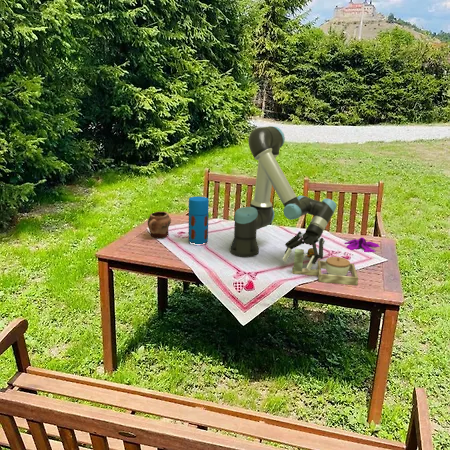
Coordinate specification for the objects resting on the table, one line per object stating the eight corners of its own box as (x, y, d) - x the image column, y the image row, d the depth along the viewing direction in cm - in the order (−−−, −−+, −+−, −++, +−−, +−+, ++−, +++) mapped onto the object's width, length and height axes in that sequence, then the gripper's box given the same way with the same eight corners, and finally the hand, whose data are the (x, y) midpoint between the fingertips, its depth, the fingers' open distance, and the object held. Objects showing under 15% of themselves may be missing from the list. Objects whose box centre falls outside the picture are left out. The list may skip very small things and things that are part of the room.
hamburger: (295, 257, 226) (296, 247, 225) (308, 252, 235) (309, 242, 233) (314, 264, 218) (315, 254, 217) (327, 258, 226) (329, 249, 225)
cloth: (380, 244, 250) (381, 234, 248) (379, 255, 233) (381, 244, 231) (340, 239, 257) (341, 229, 255) (336, 249, 240) (338, 238, 238)
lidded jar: (321, 271, 208) (323, 253, 206) (343, 271, 209) (345, 253, 206) (328, 281, 198) (330, 262, 195) (351, 281, 199) (353, 262, 196)
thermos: (200, 247, 236) (201, 202, 228) (184, 243, 241) (184, 199, 234) (211, 241, 245) (212, 198, 237) (196, 237, 250) (196, 195, 242)
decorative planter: (161, 244, 239) (160, 219, 234) (141, 241, 242) (140, 217, 238) (175, 233, 257) (175, 210, 253) (156, 230, 260) (156, 208, 256)
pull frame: (291, 279, 199) (293, 256, 195) (292, 265, 215) (294, 244, 211) (357, 285, 194) (360, 262, 191) (353, 270, 210) (355, 249, 207)
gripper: (341, 238, 204) (321, 276, 198) (297, 225, 220) (277, 260, 214) (337, 229, 198) (315, 268, 193) (292, 217, 215) (271, 253, 209)
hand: (295, 264), depth 203 cm, fingers open, 13 cm apart
